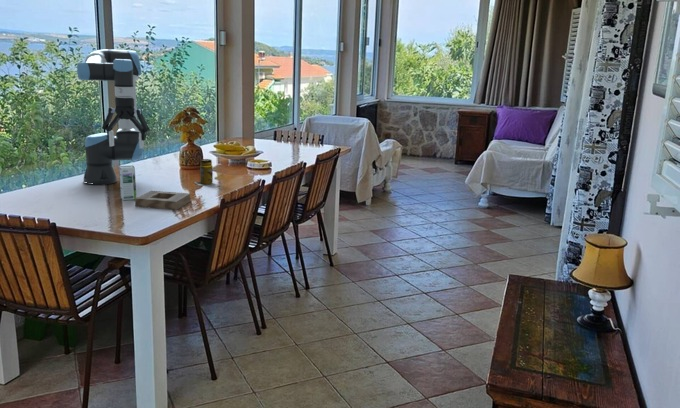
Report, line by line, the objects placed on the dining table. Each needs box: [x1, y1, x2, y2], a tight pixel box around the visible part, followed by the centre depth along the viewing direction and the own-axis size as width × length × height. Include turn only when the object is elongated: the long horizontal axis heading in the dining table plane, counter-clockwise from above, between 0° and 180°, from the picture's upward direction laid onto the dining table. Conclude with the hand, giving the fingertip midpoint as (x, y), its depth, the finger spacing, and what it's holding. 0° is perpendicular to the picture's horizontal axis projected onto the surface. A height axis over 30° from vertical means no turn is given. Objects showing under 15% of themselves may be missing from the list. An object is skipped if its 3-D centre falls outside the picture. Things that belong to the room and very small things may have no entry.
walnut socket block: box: [134, 190, 191, 211], centre depth 253 cm, size 18×15×4 cm
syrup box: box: [118, 164, 137, 201], centre depth 258 cm, size 6×6×14 cm
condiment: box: [194, 158, 215, 186], centre depth 293 cm, size 7×8×12 cm
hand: (126, 147), depth 255 cm, fingers open, 13 cm apart
